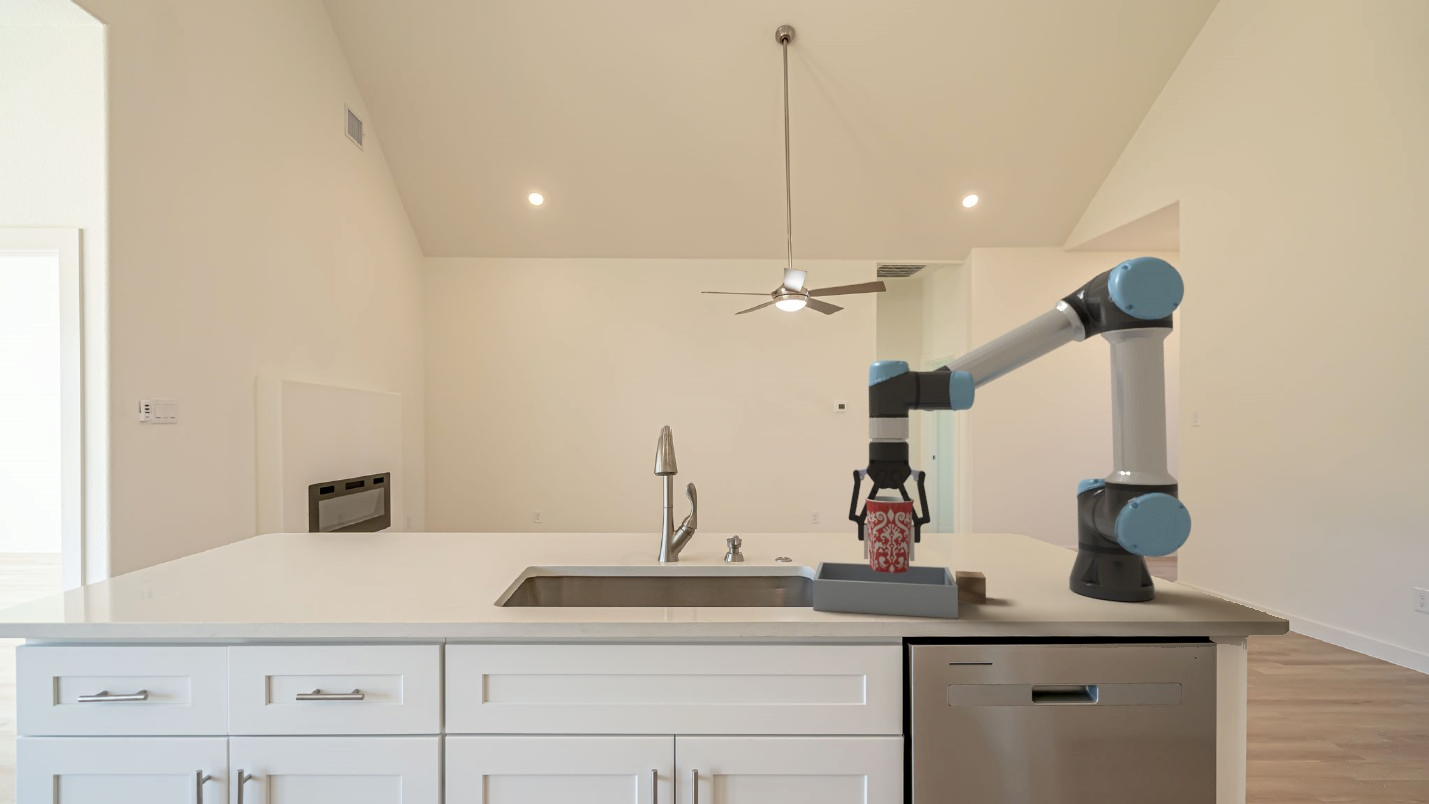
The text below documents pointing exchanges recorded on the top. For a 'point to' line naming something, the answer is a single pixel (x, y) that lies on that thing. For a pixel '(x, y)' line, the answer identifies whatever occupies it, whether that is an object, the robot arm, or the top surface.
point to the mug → (889, 533)
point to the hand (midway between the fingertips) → (888, 558)
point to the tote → (885, 590)
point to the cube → (971, 587)
